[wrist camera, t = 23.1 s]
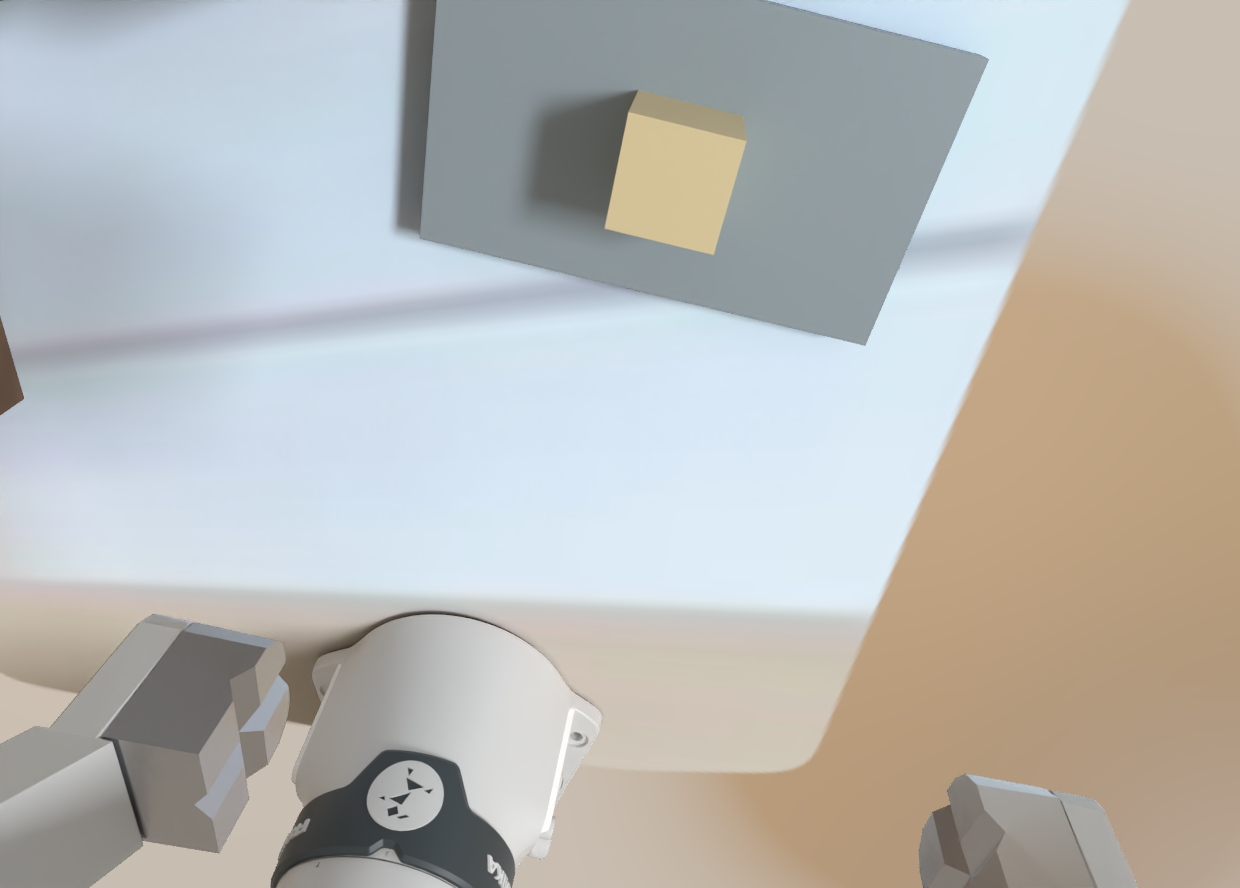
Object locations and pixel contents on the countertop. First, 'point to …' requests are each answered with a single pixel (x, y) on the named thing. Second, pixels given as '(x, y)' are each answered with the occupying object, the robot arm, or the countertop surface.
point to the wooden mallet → (8, 376)
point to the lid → (691, 149)
